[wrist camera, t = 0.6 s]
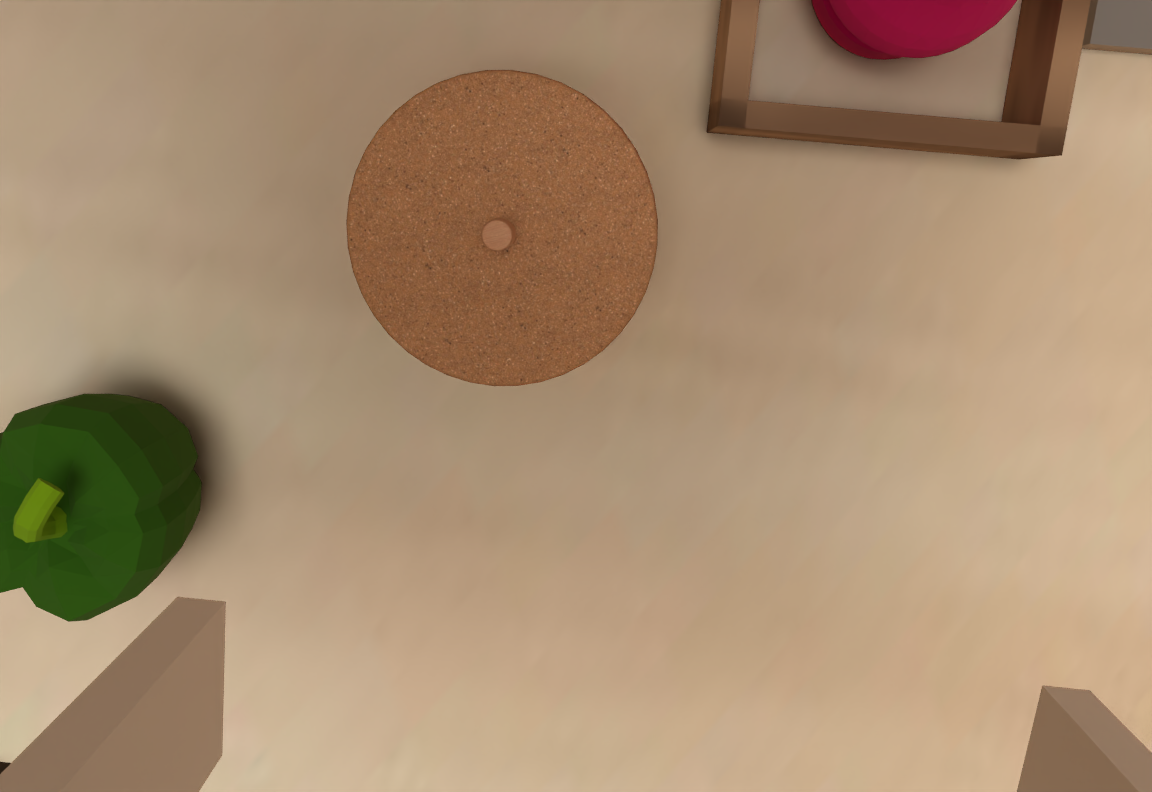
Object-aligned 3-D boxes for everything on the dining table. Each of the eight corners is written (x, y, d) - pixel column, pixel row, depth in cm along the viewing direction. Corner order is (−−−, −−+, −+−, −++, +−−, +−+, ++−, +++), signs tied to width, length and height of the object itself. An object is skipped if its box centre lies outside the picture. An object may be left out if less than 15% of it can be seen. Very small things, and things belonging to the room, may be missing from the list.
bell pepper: (130, 586, 43) (-6, 701, 33) (14, 442, 41) (-163, 517, 32) (274, 491, 42) (178, 581, 32) (160, 340, 40) (23, 386, 31)
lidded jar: (361, 131, 38) (289, 109, 29) (612, 66, 38) (619, 22, 29) (430, 377, 41) (384, 429, 31) (669, 319, 40) (693, 355, 31)
